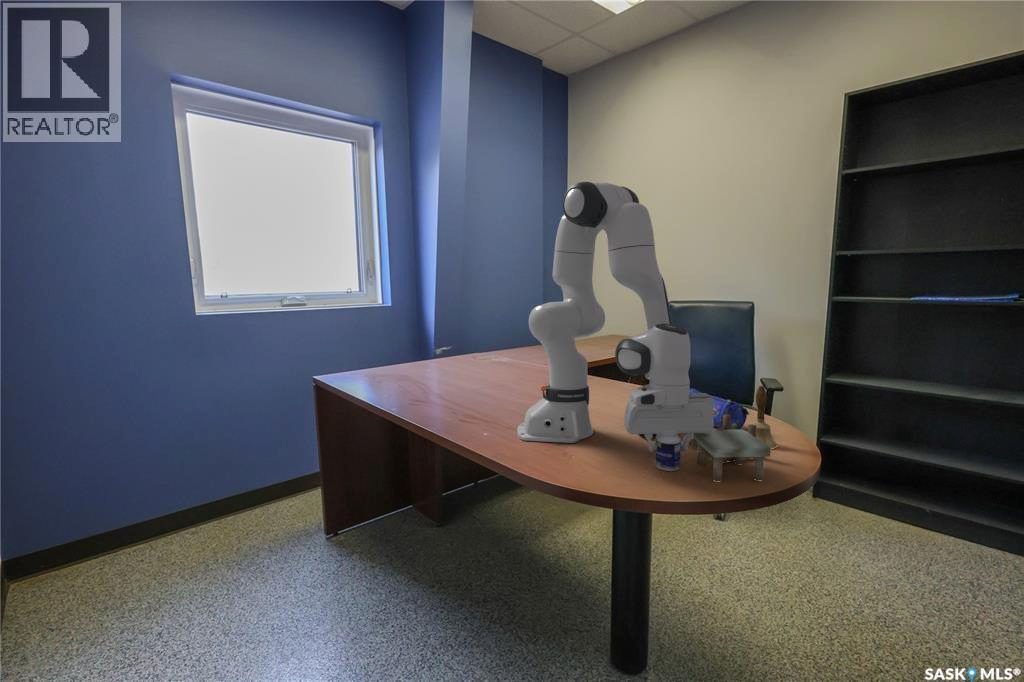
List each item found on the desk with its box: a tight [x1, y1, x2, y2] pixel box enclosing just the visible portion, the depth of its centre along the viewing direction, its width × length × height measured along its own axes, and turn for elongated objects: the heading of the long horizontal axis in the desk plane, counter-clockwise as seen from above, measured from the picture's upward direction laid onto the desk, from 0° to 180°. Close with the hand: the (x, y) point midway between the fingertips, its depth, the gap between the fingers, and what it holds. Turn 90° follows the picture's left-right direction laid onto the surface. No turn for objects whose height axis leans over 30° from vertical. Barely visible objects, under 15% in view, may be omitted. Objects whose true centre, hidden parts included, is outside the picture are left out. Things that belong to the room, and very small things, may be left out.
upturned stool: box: [687, 414, 756, 463], centre depth 115 cm, size 12×12×8 cm
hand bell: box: [751, 385, 778, 448], centre depth 119 cm, size 8×8×16 cm
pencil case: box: [689, 387, 750, 430], centre depth 138 cm, size 22×9×10 cm, turn 16°
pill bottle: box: [654, 430, 682, 472], centre depth 107 cm, size 6×6×10 cm
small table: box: [692, 429, 771, 481], centre depth 104 cm, size 12×12×8 cm
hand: (667, 450), depth 107 cm, fingers closed on pill bottle, 6 cm apart
